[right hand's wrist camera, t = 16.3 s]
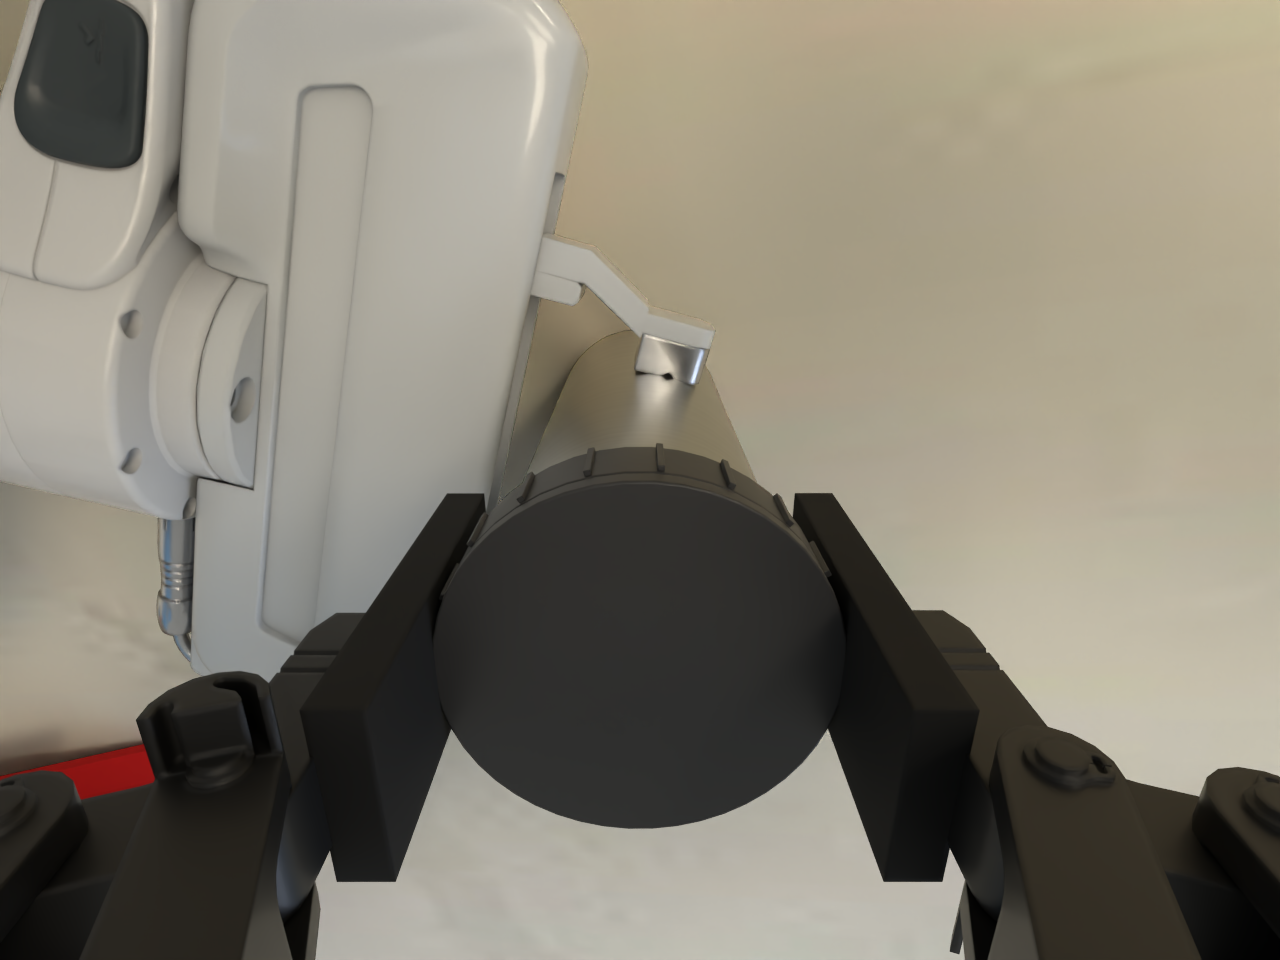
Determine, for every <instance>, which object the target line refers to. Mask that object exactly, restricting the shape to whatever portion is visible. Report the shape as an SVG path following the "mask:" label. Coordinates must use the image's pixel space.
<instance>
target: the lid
mask: <svg viewBox="0 0 1280 960" xmlns="http://www.w3.org/2000/svg"><path fill="white" fill-rule="evenodd" d="M467 545H468V546H469V547H468V548H467V550H466V552H465V554H464V556H463V558H462V560H461V562H460V564H458V563H456V565H455V567H454V569H453V571H452V573H451V575H450V577H449V579H448V581H447V582H446V584H445V586H444V588H443V590H442V592H441V594H440V597H439V600H441V601H442V602H441V605H440V608H439V611H438V613H437V616H436V622H435V627H434V633H433V639H432V641H433V652H434V661H435V669H436V677H437V684H438V692H439V699H440V704H441V707H442V710H443V712H444V714H445V716H446V718H447V720H448V723H449V725H450V727H451V729H452V730H453V732H454V733H455V735H456V737H457V738H458V740H459V741H460V743H461V744H462V746H463V747H464V748H465V750H466V751H467V752H468V753H469V754H470V756H471V757H472V758H473V759H474V760H475V761H476V763H477V764H478V765H479V766H480V767H481V768H483V769H484V770H485V771H486V772H487V773H488V774H489V775H490V776H491V777H492V778H494V779H495V780H496V781H497V782H499V783H500V784H501V785H503V786H504V787H506V788H507V789H508V790H510V791H511V792H513V793H514V794H516V795H518V796H519V797H521V798H523V799H525V800H527V801H528V802H530V803H532V804H534V805H536V806H538V807H540V808H543V809H545V810H548V811H550V812H552V813H555V814H557V815H560V816H564V817H567V818H570V819H573V820H577V821H580V822H585V823H590V824H595V825H600V826H607V827H617V828H628V829H633V828H662V827H671V826H679V825H684V824H689V823H694V822H698V821H702V820H706V819H709V818H712V817H715V816H718V815H722V814H724V813H727V812H729V811H731V810H734V809H736V808H738V807H741V806H743V805H745V804H747V803H749V802H751V801H752V800H754V799H756V798H758V797H759V796H761V795H763V794H765V793H766V792H768V791H769V790H771V789H772V788H773V787H775V786H776V785H777V784H779V783H780V782H782V781H783V780H784V779H786V778H787V777H788V776H789V775H790V774H791V773H792V772H793V771H794V770H795V769H796V768H797V767H798V766H800V765H801V764H802V763H803V761H804V760H805V759H806V758H807V757H808V755H809V754H810V753H811V752H812V751H813V750H814V748H815V747H816V746H817V744H818V743H819V741H820V740H821V738H822V737H823V735H824V733H825V732H826V730H827V729H828V727H829V725H830V723H831V721H832V718H833V716H834V714H835V712H836V710H837V707H838V705H839V699H840V692H841V685H842V677H843V669H844V661H845V653H846V643H847V636H846V631H845V626H844V621H843V616H842V612H841V610H840V607H839V604H838V601H837V599H836V596H835V593H834V591H833V589H832V587H831V585H830V583H829V581H828V579H827V577H829V576H831V573H830V571H829V569H828V567H827V565H826V563H825V561H824V559H823V558H822V556H821V554H820V552H819V550H818V548H817V546H816V544H815V542H814V541H811V542H808V541H807V539H806V537H805V535H804V533H803V532H802V530H801V528H800V527H799V525H798V524H797V523H796V521H795V520H794V519H793V517H792V516H791V515H790V513H789V512H788V510H787V508H786V506H785V504H784V502H783V500H782V498H781V496H779V495H778V494H775V495H774V496H772V495H771V494H770V493H769V492H768V491H767V490H765V489H764V488H763V487H761V486H760V485H759V484H757V483H756V482H755V481H753V480H752V479H750V478H749V477H747V476H745V475H743V474H742V473H740V472H738V471H736V470H734V469H733V468H731V467H730V465H729V462H728V461H726V460H724V459H722V460H721V462H720V463H719V462H717V461H714V460H712V459H709V458H707V457H704V456H700V455H696V454H692V453H688V452H684V451H680V450H674V449H666V448H663V444H661V443H656V447H621V448H614V449H606V450H599V451H595V448H594V447H593V448H588V451H587V454H583V455H579V456H576V457H572V458H570V459H568V460H565V461H563V462H560V463H558V464H555V465H553V466H550V467H548V468H547V469H545V470H543V471H541V472H539V473H538V474H536V475H534V473H533V472H530V473H528V474H527V475H526V478H525V480H524V482H523V483H522V484H521V485H519V486H518V487H517V488H515V489H514V490H513V491H511V492H510V493H509V494H508V495H507V496H506V497H505V498H504V499H503V500H502V501H501V502H500V503H499V504H498V505H497V506H496V507H495V508H494V509H493V510H492V511H491V512H490V513H489V515H488V514H486V513H485V512H484V513H483V514H482V516H481V517H480V519H479V521H478V523H477V525H476V527H475V529H474V531H473V533H472V535H471V536H470V538H469V540H468V542H467Z"/></svg>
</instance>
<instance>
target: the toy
mask: <svg viewBox="0 0 1280 960" xmlns="http://www.w3.org/2000/svg"><path fill="white" fill-rule="evenodd" d="M40 770H45V771H55V772H62V773H64V774H65V775H66V776H68V777H69V778H71V779H72V780H73V781H74V784H75V786H76V789H77V792H78V794H79V797H80V799H81V800H82V799H86V798H91V797H95V796H99V795H104V794H108V793H113V792H117V791H121V790H126V789H130V788H135V787H139V786H143V785H146V784H149V783H153V782H154V780H155V777H154V774H153V771H152V768H151V765H150V762H149V759H148V756H147V753H146V750H145V747H144V744H142V745H137V746H133V747H128V748H124V749H120V750H115V751H111V752H106V753H102V754H97V755H93V756H88V757H84V758H79V759H75V760H71V761H66V762H62V763H57V764H53V765H48V766H44V767H39V768H35V769H30V770H26V771H21V772H17V773H13V774H8V775H4V776H0V780H1V779H4V778H8V777H11V776H13V775H17V774H23V773H29V772H35V771H40Z"/></svg>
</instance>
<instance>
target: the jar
mask: <svg viewBox="0 0 1280 960" xmlns="http://www.w3.org/2000/svg"><path fill="white" fill-rule="evenodd" d="M638 340H639V337H638V336H637V335H636V334H635V333H634V332H633V331H632V330H628V331H622V332H619V333H615V334H612V335H610V336H608V337H605V338H603V339H602V340H600V341H598V342H597V343H595V344H594V345H592V346H591V347H590V348H589V349H587V350H586V351H585V352H584V353H583V354H582V356H581V357H580V358H579V359H578V360H577V362H576V363H575V365H574V366H573V368H572V370H571V372H570V374H569V376H568V378H567V380H566V383H565V385H564V387H563V390H562V392H561V394H560V397H559V399H558V401H557V404H556V406H555V408H554V411H553V413H552V415H551V417H550V420H549V422H548V424H547V427H546V429H545V431H544V434H543V436H542V438H541V441H540V443H539V445H538V448H537V450H536V452H535V454H534V457H533V459H532V461H531V464H530V466H529V468H528V471H527V473H526V475H527V474H528V473H530V472H533V473H534V475H536V474H538V473H539V472H541V471H543V470H545V469H547V468H548V467H550V466H553V465H555V464H558V463H560V462H563V461H565V460H568V459H570V458H572V457H576V456H579V455H583V454H587V451H588V448H593V447H594V448H595V451H599V450H606V449H614V448H621V447H656V443H661V444H663V448H666V449H674V450H680V451H684V452H688V453H692V454H696V455H700V456H704V457H707V458H709V459H712V460H714V461H717V462H719V463H720V462H721V460H722V459H724V460H726V461H728V462H729V465H730V467H731V468H733V469H734V470H736V471H738V472H740V473H742V474H743V475H745V476H747V477H749V478H750V479H752V480H753V481H755V482H756V479H755V477H754V475H753V472H752V470H751V468H750V465H749V463H748V461H747V459H746V456H745V454H744V452H743V449H742V447H741V445H740V442H739V440H738V438H737V435H736V433H735V431H734V428H733V426H732V424H731V421H730V419H729V417H728V415H727V412H726V410H725V408H724V405H723V403H722V401H721V398H720V396H719V394H718V391H717V389H716V387H715V384H714V382H713V380H712V378H711V375H710V373H709V371H708V369H707V368H706V366H704V369H703V372H702V375H701V379H700V382H699V384H694V385H693V384H687V383H683V382H681V381H678V380H676V379H674V378H673V377H672V376H671V374H670V373H666V374H664V375H654V374H649V373H645V372H641V371H638V370H634V363H635V361H634V359H635V353H636V349H637V345H638ZM526 475H525V478H526ZM525 478H524V480H525ZM524 480H523V482H524ZM523 482H522V483H523ZM756 483H757V482H756Z"/></svg>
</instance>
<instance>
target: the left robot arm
mask: <svg viewBox="0 0 1280 960" xmlns="http://www.w3.org/2000/svg"><path fill="white" fill-rule="evenodd" d="M587 75H588V59H587V55H586V50H585V48H584V45H583V42H582V40H581V37H580V35H579V33H578V31H577V29H576V27H575V26H574V24H573V22H572V20H571V18H570V16H569V15H568V13H567V12H566V10H565V9H564V7H563V6H562V4H561V3H560V2H559V0H30V1H29V5H28V9H27V12H26V16H25V19H24V23H23V26H22V30H21V33H20V37H19V40H18V44H17V47H16V50H15V53H14V57H13V60H12V63H11V66H10V69H9V73H8V76H7V79H6V82H5V85H4V87H3V90H2V93H1V96H0V482H4V483H9V484H13V485H17V486H22V487H26V488H30V489H35V490H39V491H44V492H48V493H52V494H57V495H61V496H65V497H70V498H74V499H80V500H85V501H89V502H93V503H97V504H102V505H106V506H110V507H115V508H119V509H123V510H128V511H132V512H136V513H141V514H145V515H149V516H154V517H158V539H157V544H158V557H159V562H160V570H161V589H160V590H159V592H158V596H157V605H156V610H157V618H158V623H159V626H160V629H161V631H162V632H163V633H165V634H168V635H172V636H173V638H174V641H175V643H176V645H177V647H178V649H179V650H180V652H181V653H182V654H183V656H184V657H185V658H186V659H187V660H188V661H189V662H190V665H191V668H192V669H193V670H194V671H195V672H196V673H198V674H200V675H201V676H206V675H210V674H214V673H218V672H231V671H244V672H249V673H254V674H258V675H260V676H261V677H262V678H263V679H265V680H266V681H267V682H268V683H269V682H270V681H271V679H272V678H273V677H274V676H275V674H276V673H280V668H281V667H282V665H283V664H284V663H285V662H286V660H287V659H288V658H289V656H290V655H294V650H295V649H296V648H297V646H298V645H299V644H300V642H301V641H302V640H303V639H304V637H305V636H306V635H307V634H308V632H309V631H310V630H311V629H313V628H314V627H316V626H317V625H319V624H320V623H322V622H323V621H325V620H326V619H328V618H329V617H331V616H332V615H334V614H335V613H366V612H367V610H368V609H369V607H370V606H371V604H372V603H373V601H374V600H375V598H376V597H377V595H378V594H379V593H380V591H381V590H382V588H383V587H384V585H385V584H386V582H387V581H388V579H389V578H390V576H391V575H392V573H393V572H394V570H395V569H396V568H397V566H398V565H399V563H400V562H401V560H402V559H403V557H404V556H405V554H406V553H407V551H408V550H409V548H410V547H411V546H412V544H413V543H414V541H415V540H416V538H417V537H418V535H419V534H420V532H421V531H422V529H423V528H424V526H425V525H426V524H427V522H428V521H429V519H430V518H431V516H432V515H433V513H434V512H435V510H436V509H437V507H438V506H439V504H440V503H441V501H442V500H443V499H444V497H445V496H446V494H447V493H484V495H485V507H486V514H488V515H489V513H490V512H491V511H492V510H493V509H494V508H495V507H496V506H497V505H498V501H499V496H500V491H501V486H502V482H503V477H504V472H505V467H506V463H507V458H508V453H509V448H510V443H511V439H512V434H513V429H514V424H515V420H516V415H517V410H518V405H519V401H520V396H521V391H522V386H523V381H524V377H525V372H526V367H527V362H528V358H529V353H530V348H531V343H532V338H533V334H534V329H535V324H536V319H537V315H538V310H539V305H540V300H541V298H543V299H547V300H551V301H555V302H559V303H563V304H566V305H570V306H574V305H575V304H576V303H578V302H579V300H580V299H581V297H582V296H583V295H584V292H585V289H586V286H587V287H588V288H589V289H590V290H591V291H592V292H593V293H594V294H595V295H596V296H597V297H598V298H599V299H600V300H601V301H602V302H603V303H604V304H605V305H606V306H608V307H609V308H610V309H611V310H612V311H613V312H614V313H615V314H616V315H617V316H618V317H619V318H620V319H621V320H622V321H623V322H624V323H625V324H626V325H627V326H628V327H629V328H630V329H631V330H632V331H633V332H634V333H635V334H636V335H637V336H638V337H639V340H638V345H637V349H636V353H635V359H634V361H635V363H634V370H638V371H641V372H645V373H649V374H654V375H664V374H666V373H670V374H671V376H672V377H673V378H674V379H676V380H678V381H681V382H683V383H687V384H693V385H694V384H699V382H700V379H701V375H702V372H703V369H704V366H705V363H706V360H707V357H708V354H709V351H710V347H711V344H712V340H713V337H714V334H715V331H716V330H715V329H714V327H713V325H712V324H710V323H708V322H706V321H703V320H701V319H698V318H694V317H691V316H687V315H684V314H680V313H676V312H673V311H669V310H665V309H662V308H658V307H655V306H651V305H649V303H648V299H647V298H646V297H645V296H644V295H643V294H642V293H641V292H640V291H639V290H638V289H637V288H636V287H635V286H634V285H633V284H632V283H631V282H630V281H629V280H628V278H627V277H626V276H625V275H624V274H623V273H622V272H621V271H620V270H619V269H618V268H617V267H616V266H615V265H614V264H613V263H612V262H611V261H610V260H609V259H608V258H607V257H606V256H605V255H604V254H603V253H602V252H601V251H600V250H599V249H598V248H597V247H596V246H594V245H590V244H586V243H583V242H579V241H576V240H572V239H569V238H565V237H561V236H558V235H554V233H555V229H556V224H557V219H558V214H559V210H560V205H561V200H562V195H563V190H564V186H565V181H566V176H567V171H568V167H569V162H570V157H571V152H572V147H573V143H574V138H575V133H576V128H577V124H578V119H579V114H580V109H581V104H582V100H583V95H584V90H585V85H586V80H587ZM190 632H192V633H191V638H190V636H189V633H190Z"/></svg>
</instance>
